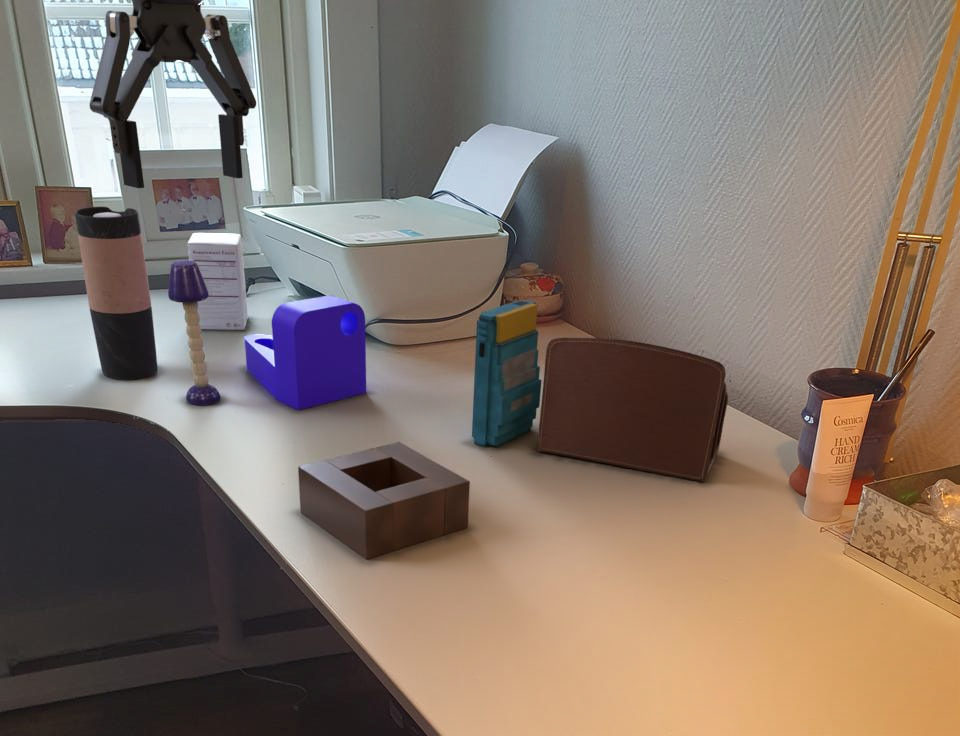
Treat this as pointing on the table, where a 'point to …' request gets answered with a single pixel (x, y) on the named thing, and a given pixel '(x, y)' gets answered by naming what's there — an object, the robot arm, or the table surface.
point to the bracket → (311, 352)
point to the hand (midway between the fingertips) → (185, 181)
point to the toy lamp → (193, 326)
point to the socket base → (383, 498)
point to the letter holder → (632, 406)
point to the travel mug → (118, 291)
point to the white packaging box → (220, 280)
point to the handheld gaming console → (505, 373)
